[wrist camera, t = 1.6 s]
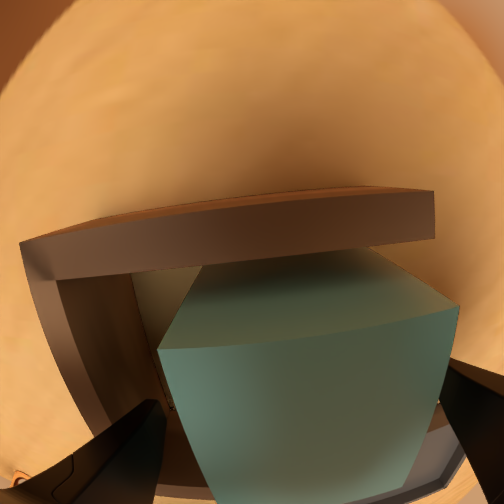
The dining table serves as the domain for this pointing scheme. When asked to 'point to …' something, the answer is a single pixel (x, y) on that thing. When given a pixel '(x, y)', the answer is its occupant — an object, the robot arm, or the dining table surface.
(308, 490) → the teal block
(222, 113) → the dining table surface
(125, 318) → the frame
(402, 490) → the gray tray
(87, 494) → the robot arm
